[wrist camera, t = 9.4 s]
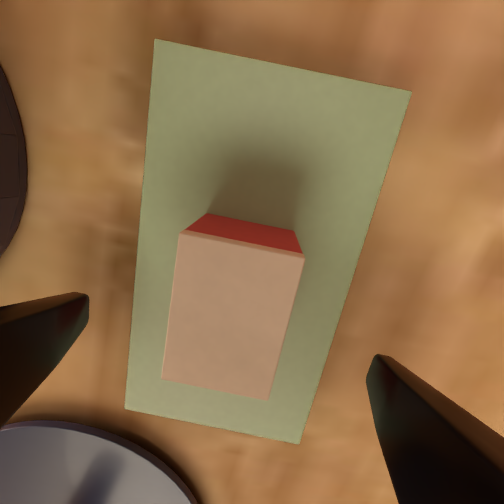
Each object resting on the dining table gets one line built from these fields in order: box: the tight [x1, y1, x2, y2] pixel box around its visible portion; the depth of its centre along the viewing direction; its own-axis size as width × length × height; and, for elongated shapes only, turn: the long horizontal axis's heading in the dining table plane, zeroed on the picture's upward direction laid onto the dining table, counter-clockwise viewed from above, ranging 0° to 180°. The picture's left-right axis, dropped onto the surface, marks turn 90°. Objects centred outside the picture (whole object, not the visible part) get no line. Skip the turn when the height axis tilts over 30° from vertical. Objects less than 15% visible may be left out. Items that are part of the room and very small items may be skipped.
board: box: [124, 39, 412, 444], centre depth 14 cm, size 18×10×2 cm, turn 169°
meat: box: [161, 213, 305, 401], centre depth 12 cm, size 6×4×4 cm
